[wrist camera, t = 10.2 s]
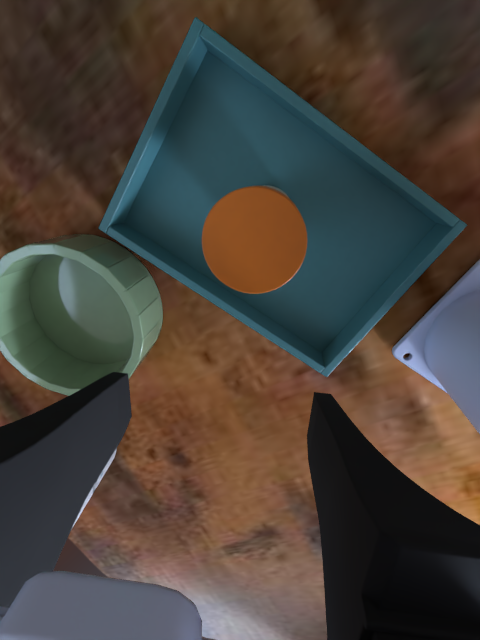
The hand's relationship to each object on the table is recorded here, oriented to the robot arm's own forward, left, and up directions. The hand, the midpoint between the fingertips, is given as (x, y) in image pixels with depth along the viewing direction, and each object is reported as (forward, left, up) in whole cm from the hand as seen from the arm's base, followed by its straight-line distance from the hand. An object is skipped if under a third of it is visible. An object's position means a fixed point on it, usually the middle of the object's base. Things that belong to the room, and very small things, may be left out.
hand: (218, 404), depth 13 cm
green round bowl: (+9, +6, -10) cm, 15 cm away
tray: (+2, -6, -10) cm, 12 cm away
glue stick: (+2, -6, -10) cm, 12 cm away
